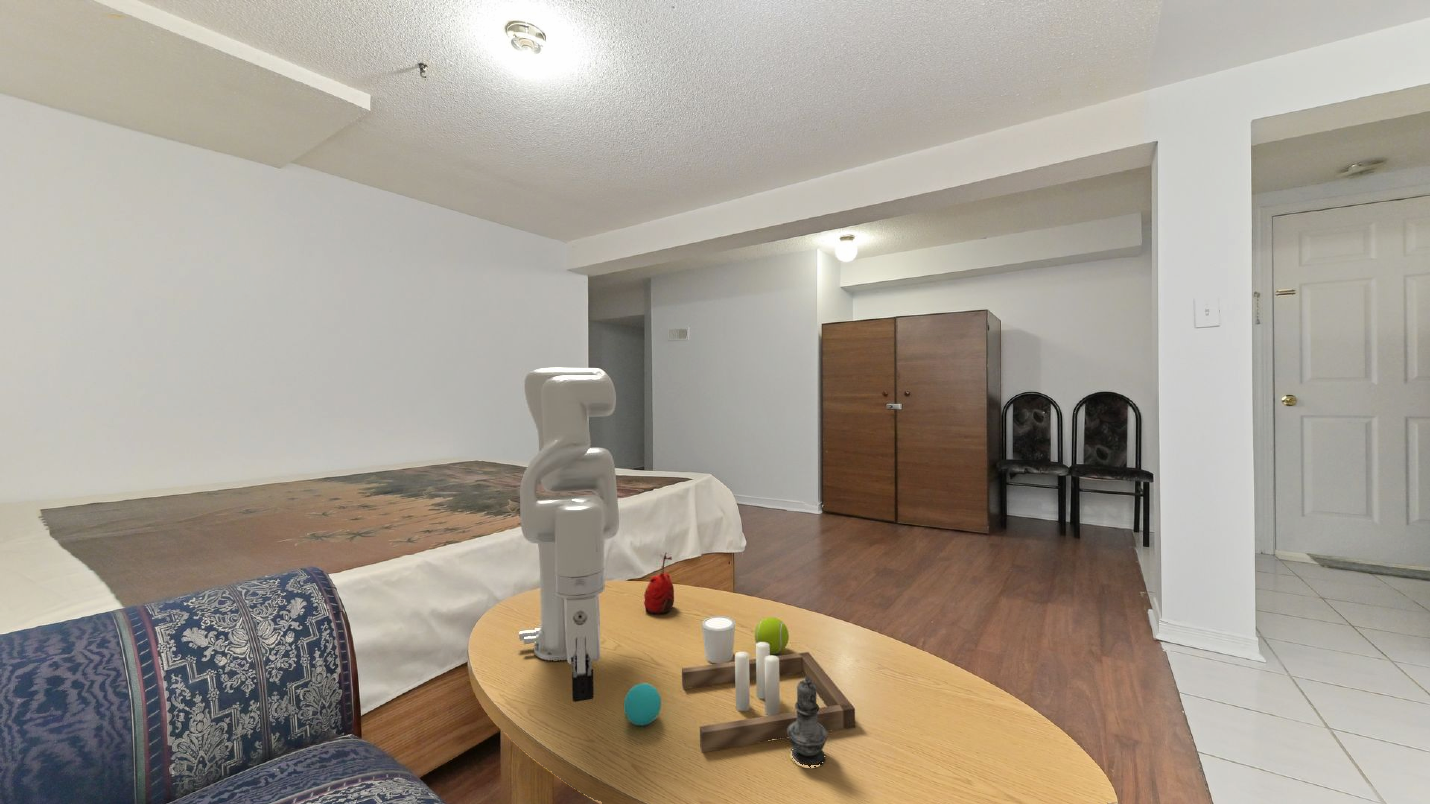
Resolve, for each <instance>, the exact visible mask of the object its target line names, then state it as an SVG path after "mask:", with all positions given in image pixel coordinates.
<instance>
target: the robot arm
mask: <svg viewBox="0 0 1430 804" xmlns="http://www.w3.org/2000/svg"><path fill="white" fill-rule="evenodd" d="M524 393H525V400H526V403H527V407H528V409H529V412H530V414H531V417H532V419H533V422H534V424H535V427H536V430H537V435H538V453H537V454H535V456H534V457H533V458H532V460H531V461H530V462H529V464H528V465H527V467H526V469H525V470H524V473H523V476H522V479H521V482H520V489H519V502H520V504H519V506H520V507H519V508H520V510H519V511H520V513H519V514H520V527H521V532H522V536H523V537H524V539H525V540H526V541H527V542H529V543H532V544H537V546H538V557H539V558H538V559H539V579H540V580H539V582H540V583H539V584H540V588H539V589H540V626H539V627H535V629H532V630H529V629H527V630H520V631H519V635H518V636H519V641H523V645H529V644H530V645H531V644H533V643H534V645H533V652H534V655H535V656H536V657H538V658H539V659H542V660H545V661H550V660H551V662H553V661H554V662H558V660H559V662H560V660H561V661H567V663H568V664H569V665H570V666H572V670H573V671H572V674H571V681H572V682H571V688H572V690H571V691H572V701H573V703H576V702H582V701H583V702H584V701H591V700H593V699H594V694H595V692H594V691H595V690H594V669H593V668H592V666H593V665H592V662H594V661H595V662H596V663H597V662H599V660H600V659H601V620H600V619H601V617H600V616H601V615H600V614H601V611H600V594H602V593H603V592H604V591H605V589H606V585H605V584H606V583H605V581H606V580H605V578H606V577H605V575H606V574H605V545H604V543H605V542H604V541H605V540H610V539H613V538H614V537H615V536H617V534H618V532H619V528H620V515H619V514H620V513H619V499H618V488H617V475H616V468H615V467H616V466H615V461H614V457H613V456H612V453H611V452H610V450H608V449H607V448H604V447H591V444H592V442H591V434H590V427H589V426H590V425H589V418H592V417H594V418H595V417H597V418H598V417H608V416H611V415H612V414H614V411H615V409H616V405H617V395H616V394H617V393H616V389H615V385H614V383H613V381H612V378H611V377H610V376H609V374H607V372H606V371H605V370H603V369H602V368H597V367H543V368H537V369H534V370H531V371H529V372H528V373H527V374H526V376H525V379H524ZM539 484H541V487H542V488H543V490H544V491H546V492H548V493H550V494H551V493H553V494H565V493H579V492H589V491H590V492H593V493H594V494H588V493H587V494H575V495H562V496H561V495H560V496H551V497H550V496H549V497H548V496H547V497H538V496H537V495H538V494H537V491H538V489H537V488H538V485H539ZM552 660H553V661H552Z"/></svg>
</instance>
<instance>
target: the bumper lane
mask: <svg viewBox="0 0 1430 804" xmlns="http://www.w3.org/2000/svg"><path fill="white" fill-rule="evenodd" d="M776 656H777V657H778V658H779V675H780V676H787V675H793V674H801V673H802V674H803V676H804V678H805V677H806V676H807V677H808V678H809V679H808V680H809V681H811V682H813V683H814V684H815V686H816V695H818V696H819V698H820V699H821V700H822V701H824V702H823V703H824V705H825V706H823V707H819V711H818V712H817V722H818V723H819V724H820V725H822V726H823V727H824V728H825V729H826V731H828V732H832V731H831V730H834V731H839V729H840V730H844V728H846V729H851V727H852V728H855V727H856V708H855V707H854V705H853V704H852V703H851V701H850V700H848V698H847V697H846V695H845V694H844V693H843V692H842V691H841V690H840V689H839V687H838V686H837V685H836V683H834V681H833V680H832V679H831V677H830V676H829V675H828V674H827V673H826V672H825V670H824V669H823V668H822V666H821V665H820V664H819V663H818V662H817V661H816V659H815V658H814V657H813V656H812V655H811V653H810V652H809V651H805V652H798V653H791V654H783V655H776ZM751 680H756V658H753V659H752V658H751V659H749V681H751ZM729 683H735V661H728V662H726V663H713V664H712V663H711V664H707V665H698V666H691V667H683V668H681V685H682V689H683V690H685V689H686V690H687V689H692V688H700V687H707V686H714V685H720V684H729ZM796 721H797V710H795V711H791V712H784V713H779V714H777V715H771V716H769V715H766V716H760V717H753V718H746V719H745V718H744V719H740V720H733V721H725V722H720V723H719V722H718V723H714V724H707V725H700V726H699V746H700V747H699V748H700V751H701V753H707V752H712V751H713V752H714V751H721V750H724V749H731V748H735V747H743V746H751V745H755V743H756V744H759V743H758V742H762V743H766V742H765V741H768V740H772V739H780V738H781V739H780V740H783V739H782V738H786V739H788V738H787V737H789V736H788V734H787V729H788V727H789V726H790V724H792V723H793V722H796ZM837 729H838V730H837ZM768 742H769V741H768Z"/></svg>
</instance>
